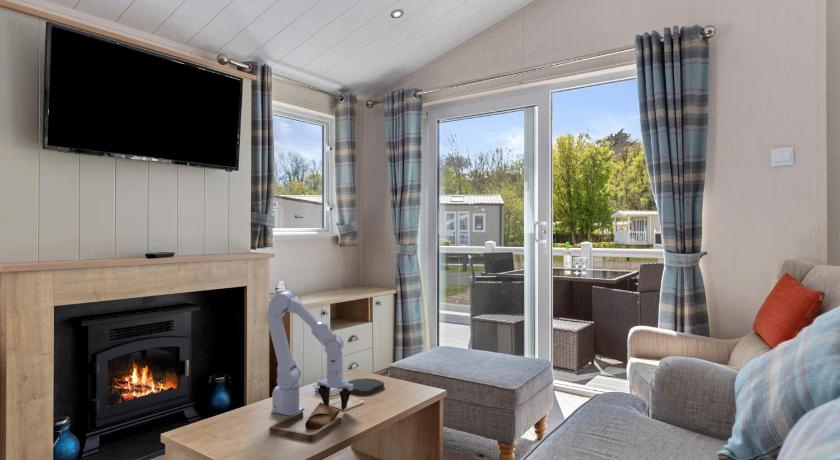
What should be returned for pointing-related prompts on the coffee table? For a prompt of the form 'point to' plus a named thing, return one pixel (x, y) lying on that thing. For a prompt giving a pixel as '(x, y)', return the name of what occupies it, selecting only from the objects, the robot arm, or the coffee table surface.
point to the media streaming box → (366, 386)
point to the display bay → (280, 430)
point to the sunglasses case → (321, 417)
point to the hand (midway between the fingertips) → (335, 407)
